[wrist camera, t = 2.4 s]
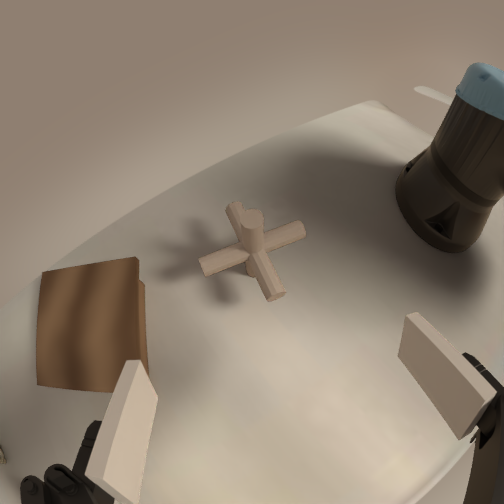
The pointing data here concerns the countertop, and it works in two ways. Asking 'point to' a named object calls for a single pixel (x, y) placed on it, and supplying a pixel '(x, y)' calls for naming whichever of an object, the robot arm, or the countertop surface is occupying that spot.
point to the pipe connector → (253, 248)
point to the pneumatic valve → (2, 457)
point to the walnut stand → (90, 325)
